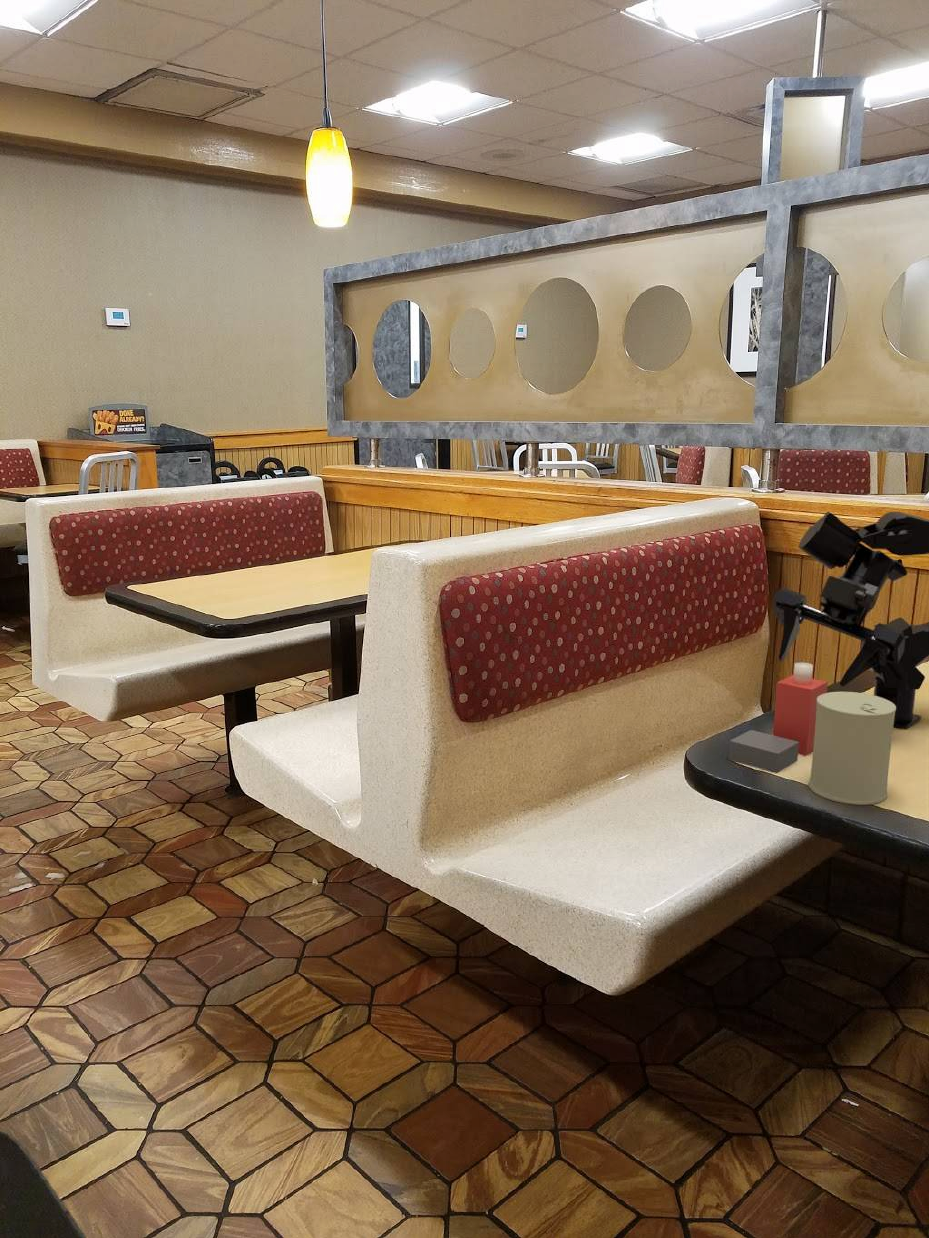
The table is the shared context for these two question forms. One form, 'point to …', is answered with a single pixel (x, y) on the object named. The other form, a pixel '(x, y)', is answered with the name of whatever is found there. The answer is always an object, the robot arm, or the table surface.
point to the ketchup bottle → (798, 707)
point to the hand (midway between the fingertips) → (810, 672)
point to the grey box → (763, 751)
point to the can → (852, 747)
